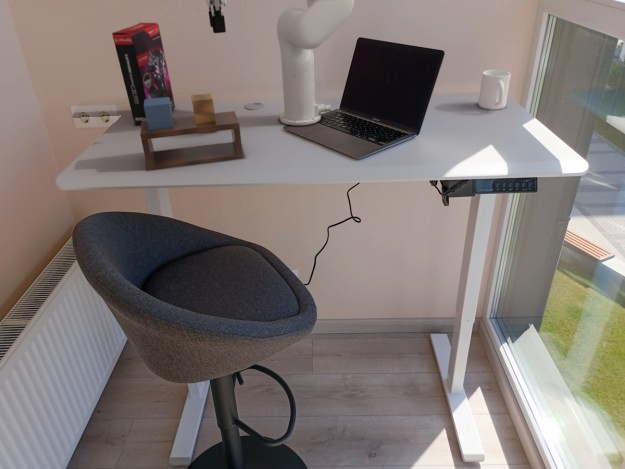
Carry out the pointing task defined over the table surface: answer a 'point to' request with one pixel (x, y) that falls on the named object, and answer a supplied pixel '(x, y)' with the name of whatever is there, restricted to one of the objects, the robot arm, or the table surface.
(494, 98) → the mug
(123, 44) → the graphics card box
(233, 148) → the brown rectangular fixture
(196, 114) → the cardboard box
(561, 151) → the table surface
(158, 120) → the blue box
